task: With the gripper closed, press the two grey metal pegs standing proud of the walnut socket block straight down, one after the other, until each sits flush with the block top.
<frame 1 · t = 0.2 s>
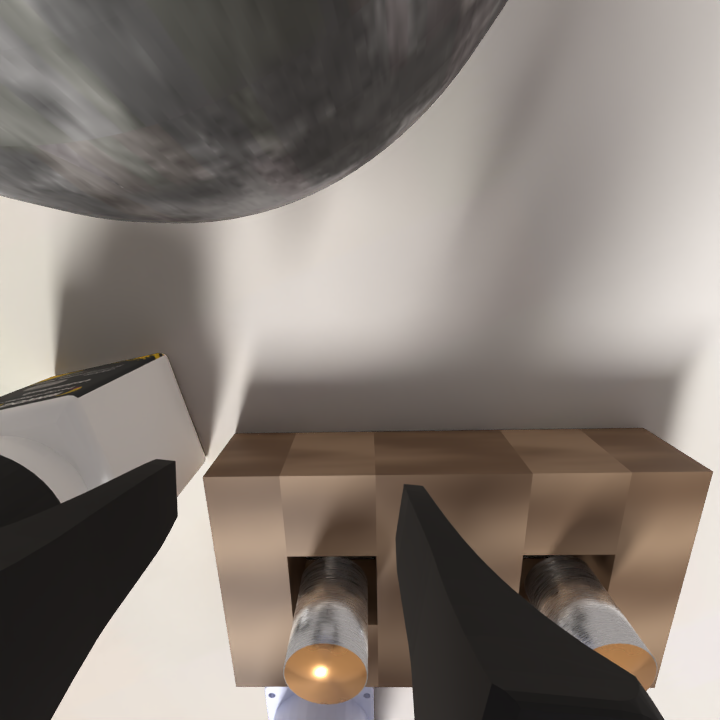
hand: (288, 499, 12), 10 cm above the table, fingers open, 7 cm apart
socket block: (432, 529, 24), on the table
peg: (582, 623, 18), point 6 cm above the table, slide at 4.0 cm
medicine bottle: (135, 417, 22), on the table
moon model: (248, 2, 16), on the table
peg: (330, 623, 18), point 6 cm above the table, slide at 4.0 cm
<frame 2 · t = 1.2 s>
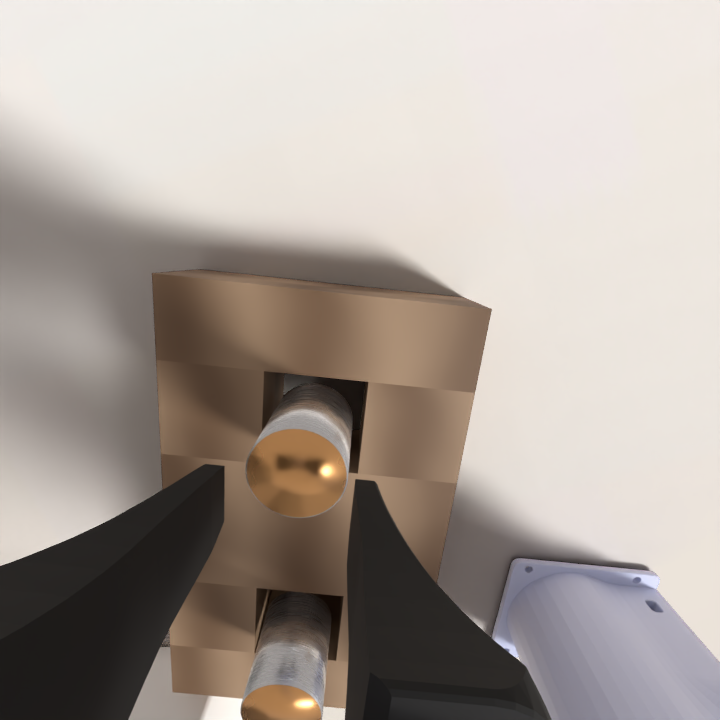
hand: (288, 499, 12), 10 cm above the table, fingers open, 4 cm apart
socket block: (316, 480, 23), on the table
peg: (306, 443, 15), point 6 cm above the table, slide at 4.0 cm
medicine bottle: (193, 676, 28), on the table
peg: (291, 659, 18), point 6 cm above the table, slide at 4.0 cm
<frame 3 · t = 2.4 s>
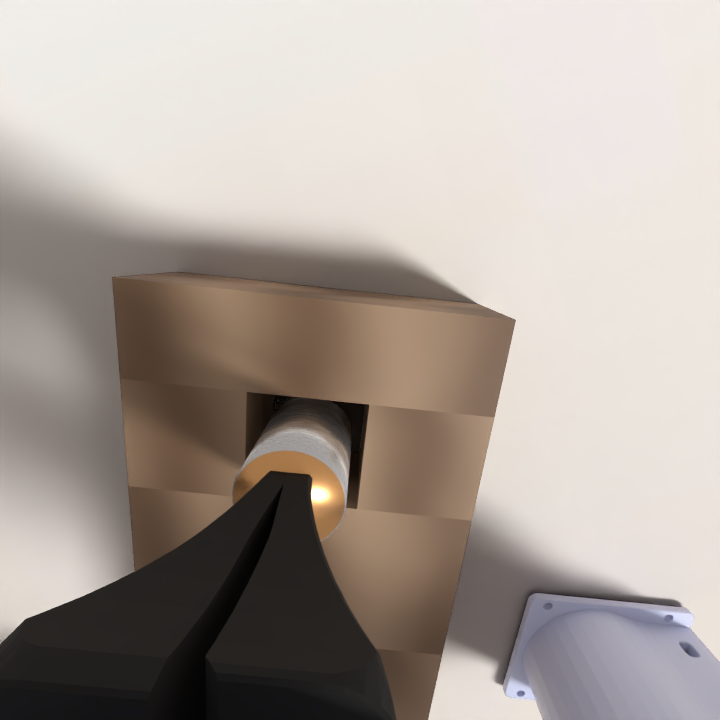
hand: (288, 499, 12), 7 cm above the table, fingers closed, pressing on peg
socket block: (310, 508, 20), on the table
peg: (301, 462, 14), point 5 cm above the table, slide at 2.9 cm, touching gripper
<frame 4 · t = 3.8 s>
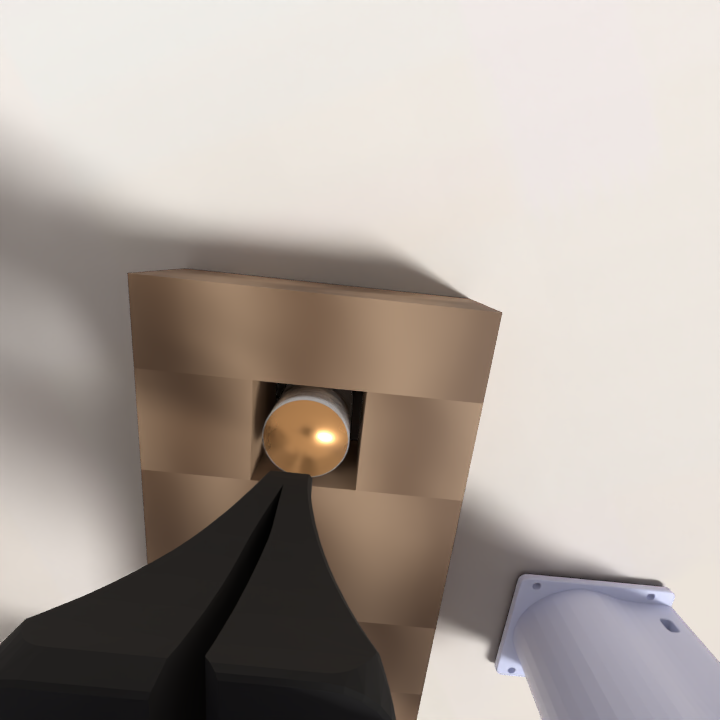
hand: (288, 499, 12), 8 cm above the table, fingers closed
socket block: (311, 493, 21), on the table
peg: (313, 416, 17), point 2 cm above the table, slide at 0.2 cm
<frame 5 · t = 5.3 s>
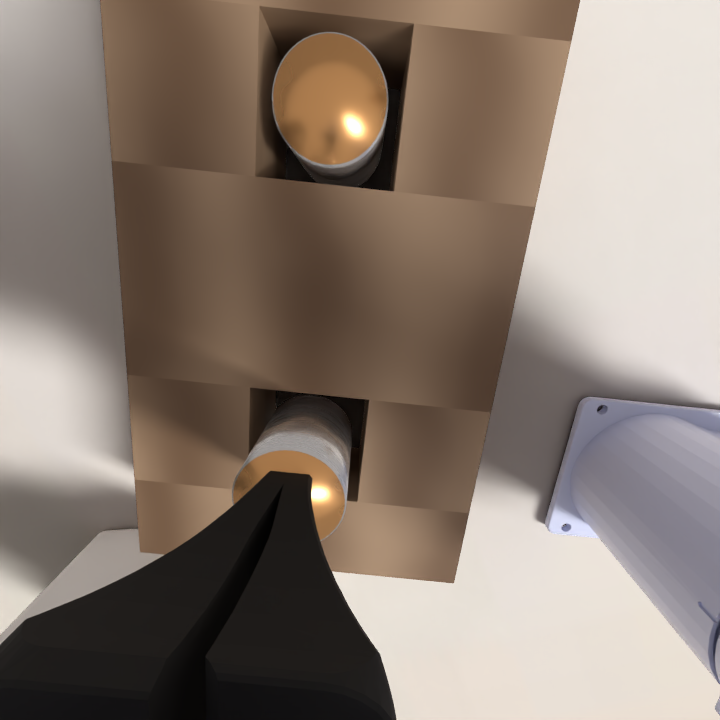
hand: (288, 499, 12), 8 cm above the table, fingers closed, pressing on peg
socket block: (329, 286, 17), on the table
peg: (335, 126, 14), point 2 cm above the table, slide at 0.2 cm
medicine bottle: (175, 570, 23), on the table
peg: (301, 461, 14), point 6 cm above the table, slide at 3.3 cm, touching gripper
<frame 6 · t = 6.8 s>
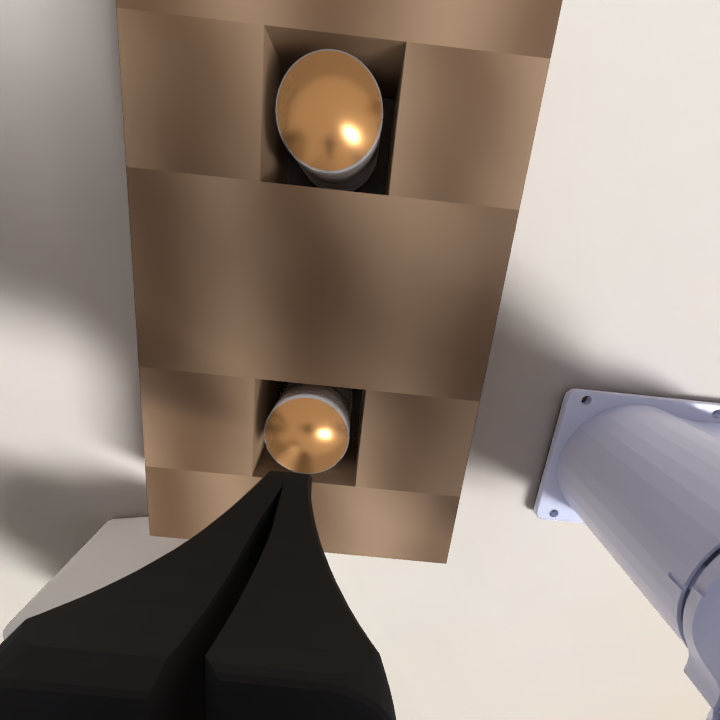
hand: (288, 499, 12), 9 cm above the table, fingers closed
socket block: (328, 284, 18), on the table
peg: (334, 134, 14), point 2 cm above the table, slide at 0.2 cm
medicine bottle: (180, 557, 23), on the table
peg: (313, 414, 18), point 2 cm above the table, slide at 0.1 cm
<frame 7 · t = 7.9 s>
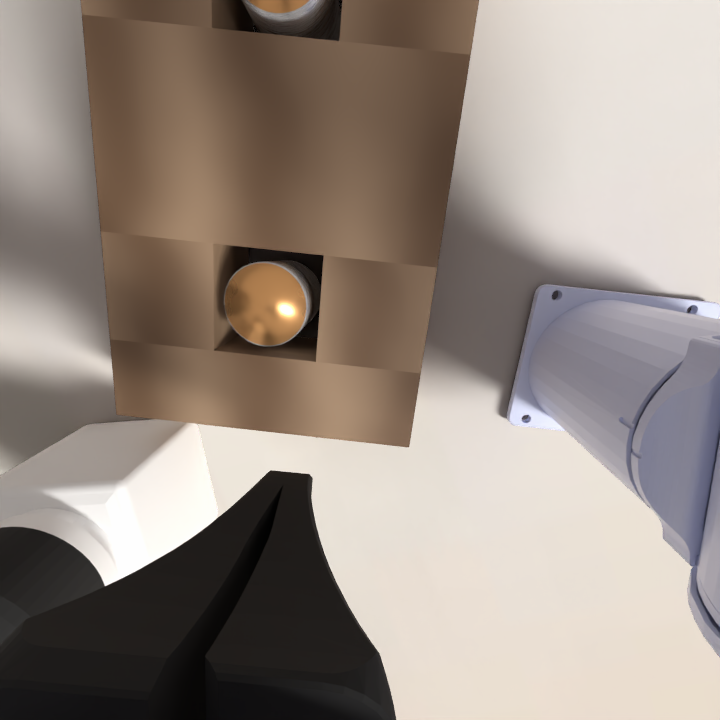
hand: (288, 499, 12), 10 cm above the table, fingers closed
socket block: (295, 174, 19), on the table
medicine bottle: (157, 467, 24), on the table
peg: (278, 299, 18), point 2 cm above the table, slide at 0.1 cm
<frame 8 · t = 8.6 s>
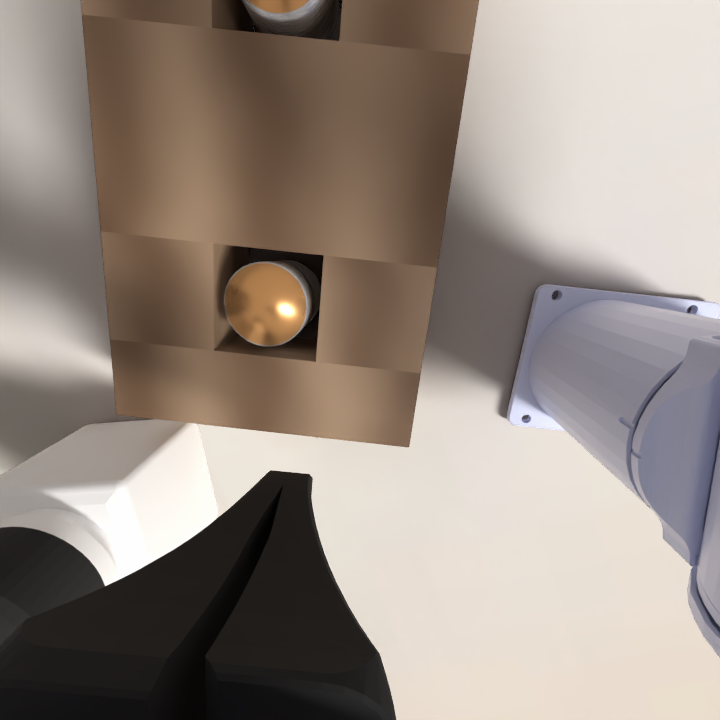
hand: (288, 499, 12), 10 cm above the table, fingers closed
socket block: (295, 174, 19), on the table
medicine bottle: (157, 467, 24), on the table
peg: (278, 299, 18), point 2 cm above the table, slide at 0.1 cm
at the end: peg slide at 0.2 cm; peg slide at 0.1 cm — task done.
